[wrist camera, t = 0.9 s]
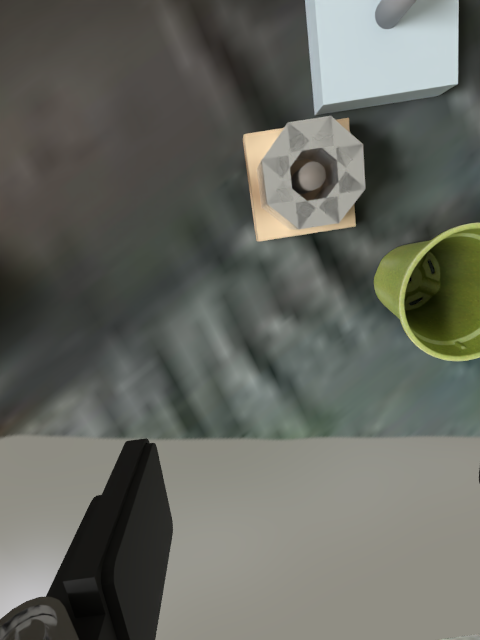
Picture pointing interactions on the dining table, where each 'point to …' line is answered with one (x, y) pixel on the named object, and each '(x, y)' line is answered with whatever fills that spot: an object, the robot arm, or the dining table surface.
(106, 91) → the dining table surface
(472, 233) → the plant pot
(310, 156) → the ring
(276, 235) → the stand
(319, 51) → the peg base
